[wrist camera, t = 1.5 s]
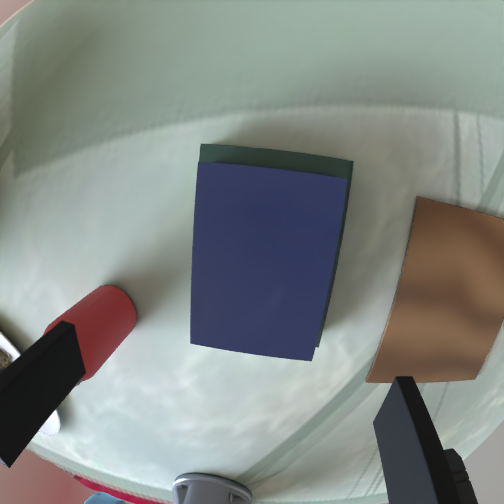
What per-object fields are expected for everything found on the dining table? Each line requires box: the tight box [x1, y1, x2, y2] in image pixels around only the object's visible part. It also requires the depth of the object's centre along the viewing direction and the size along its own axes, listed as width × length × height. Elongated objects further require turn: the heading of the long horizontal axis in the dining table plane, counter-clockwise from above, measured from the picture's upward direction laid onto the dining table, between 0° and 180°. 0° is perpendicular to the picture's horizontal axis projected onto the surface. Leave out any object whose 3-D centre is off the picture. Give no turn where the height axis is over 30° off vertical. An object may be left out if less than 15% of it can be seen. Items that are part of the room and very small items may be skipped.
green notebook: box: [199, 144, 354, 347], centre depth 28 cm, size 18×13×2 cm
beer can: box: [43, 285, 137, 386], centre depth 27 cm, size 7×7×12 cm
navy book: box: [190, 162, 348, 361], centre depth 24 cm, size 15×10×4 cm
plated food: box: [0, 332, 61, 435], centre depth 41 cm, size 30×30×3 cm
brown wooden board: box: [366, 197, 504, 383], centre depth 28 cm, size 22×18×1 cm
